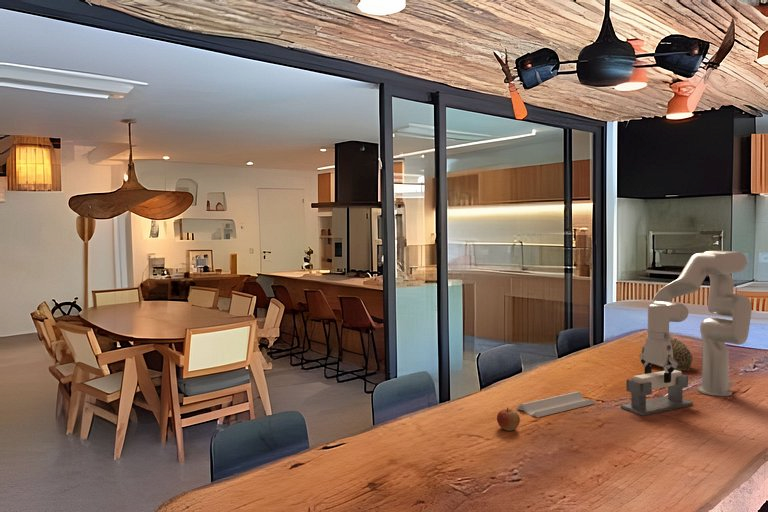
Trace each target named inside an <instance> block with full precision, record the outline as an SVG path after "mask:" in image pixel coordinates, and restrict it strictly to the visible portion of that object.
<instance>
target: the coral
mask: <svg viewBox="0 0 768 512" xmlns="http://www.w3.org/2000/svg"><path fill="white" fill-rule="evenodd" d="M669 340H671V343H672V349H673V359H674V360H675V361H676V362H677V363H678V366H677V367H676V369H675V370H678V371H690V367H692V363H693V354H692V352H691V350H690V349H689V348H688V346H687V345H686V344H685V342H682V341H681V340H678V339H677V338H674V337H672V336H671V338H669ZM644 348H645V343H644V345H642V347H641V354H642V353H644ZM657 366H658V367H660V366H659V365H657ZM670 366H672V365H670Z"/></svg>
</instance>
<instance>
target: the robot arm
mask: <svg viewBox="0 0 768 512" xmlns="http://www.w3.org/2000/svg"><path fill="white" fill-rule="evenodd" d="M747 264H748V260H747V256H746V255H745V254H744V253H743V252H740V251H734V250H733V251H731V250H706V251H704V252H697V253H694V254H693V255H691V256H690V257H689V260H688V261H687V262H686V264H685V266H684V267H683V269H682V271H681V272H680V274H679V276H678V277H677V279H675V280H673V281H672V282H670V283H668V284H666V285H665V286H663V287H661V288H660V289H659V290H658V291H657V292H656V293H655V294H654V296H653V298H652V300H651V301H650V303H649V305H648V307H647V337H646V338H645V342H644V344H645V348H644V353H642V352H641V353H640V354H638V356H639V360H640V362H641V363H642V367H644V374H648V373H653V372H652V371H653V369H652V365H655V366H658V365H659V366H658V367H662V368H663V371H665V373H664V383H670V382H671V372H673V371H674V370H677V369H676V367H677V366H678V363H677V362H676V361H675V360H674V359H673V349H672V343H671V340H669V338H671V337H672V335H671V334H670V323H671V322H672V323H680V322H684V321H685V320H686V319H687V318H688V316H689V309H688V307H687V306H686V305H685V304H683V303H679V302H672V301H671V300H673V299H675V298H678V297H683V296H685V295H688V294H692V293H696V292H697V291H698V290H699V289H700V287H701V286H702V284H703V282H704V281H705V279H706V278H707V276H709V284H710V285H709V292H708V297H707V309H708V312H710V314H713V315H716V316H723V317H729V318H730V317H731V318H732V319H726V318H720V317H707V318H705V319H703V320H702V321H701V323H700V326H699V330H700V331H699V332H700V337H701V342H702V354H701V356H702V358H701V359H702V361H701V362H702V363H701V385H699V386H697V391H698V392H700V393H702V394H704V395H709V396H714V397H730V396H732V395H733V391H732V390H731V389H730V387H733V386H734V385H735V382H734V381H732V380H731V381H730V380H729V363H730V362H729V359H730V358H729V356H730V355H729V354H730V352H729V349H728V346H727V344H732V345H743V344H745V343H746V342H747V339H748V337H749V333H750V332H749V331H750V323H751V319H752V318H751V317H752V312H753V311H752V310H753V309H752V302H751V299H750V298H749V297H748V296H746V295H743V294H738V293H737V294H735V293H734V286H735V285H734V284H735V282H734V279H733V277H732V275H731V274H737V273H738V274H739V273H741V272H743V270H745V269H746V266H747ZM726 343H727V344H726ZM670 365H672V366H670Z"/></svg>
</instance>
